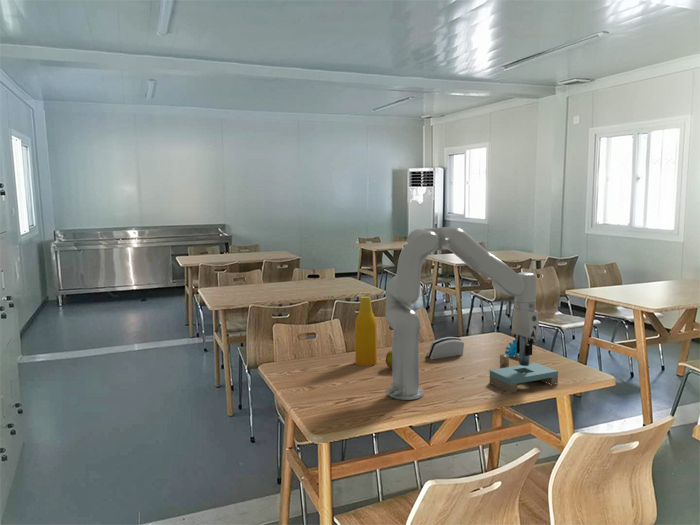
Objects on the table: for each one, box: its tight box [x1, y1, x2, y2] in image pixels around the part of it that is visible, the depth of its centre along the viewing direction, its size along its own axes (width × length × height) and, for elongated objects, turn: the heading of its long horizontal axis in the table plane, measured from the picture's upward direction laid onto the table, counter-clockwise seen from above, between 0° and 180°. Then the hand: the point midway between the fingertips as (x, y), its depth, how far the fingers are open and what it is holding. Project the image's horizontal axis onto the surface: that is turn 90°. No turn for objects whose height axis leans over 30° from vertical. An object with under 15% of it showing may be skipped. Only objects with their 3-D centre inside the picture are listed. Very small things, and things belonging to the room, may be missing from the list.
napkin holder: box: [425, 336, 465, 360], centre depth 242 cm, size 17×5×10 cm, turn 113°
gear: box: [504, 339, 519, 359], centre depth 241 cm, size 11×6×10 cm
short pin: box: [499, 353, 510, 369], centre depth 222 cm, size 4×4×6 cm
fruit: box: [385, 349, 392, 370], centre depth 226 cm, size 10×9×8 cm
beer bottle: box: [354, 295, 378, 367], centre depth 233 cm, size 9×9×29 cm
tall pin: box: [518, 335, 530, 366], centre depth 204 cm, size 4×4×12 cm
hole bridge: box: [489, 362, 559, 394], centre depth 205 cm, size 22×12×5 cm, turn 113°
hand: (524, 353), depth 204 cm, fingers closed on tall pin, 3 cm apart
